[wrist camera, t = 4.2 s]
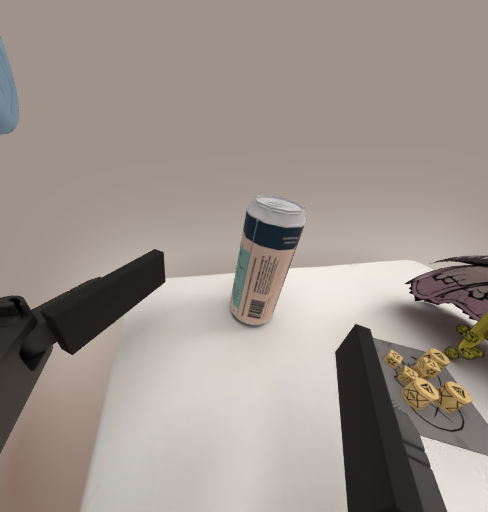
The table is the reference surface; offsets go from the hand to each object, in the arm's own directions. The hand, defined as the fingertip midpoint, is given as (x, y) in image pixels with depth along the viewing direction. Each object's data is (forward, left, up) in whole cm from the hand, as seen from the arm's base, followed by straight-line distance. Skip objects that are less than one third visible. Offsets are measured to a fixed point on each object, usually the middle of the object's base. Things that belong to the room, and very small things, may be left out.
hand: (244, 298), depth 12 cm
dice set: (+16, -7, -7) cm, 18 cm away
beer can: (+4, +4, -7) cm, 9 cm away
